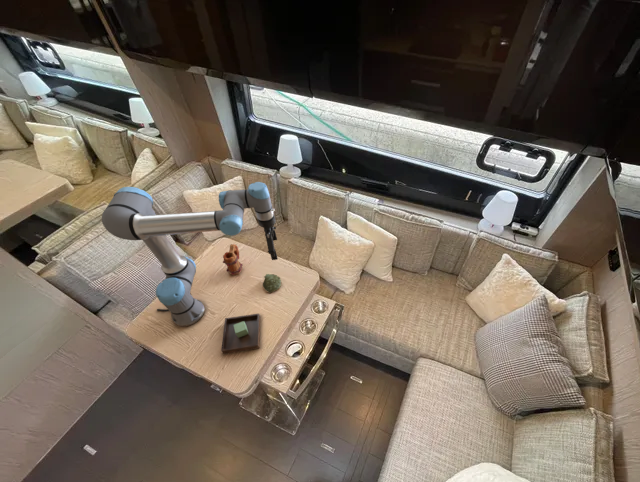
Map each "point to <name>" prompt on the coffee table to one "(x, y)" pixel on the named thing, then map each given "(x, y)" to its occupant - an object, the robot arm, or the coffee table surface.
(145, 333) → the coffee table surface
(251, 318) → the tray
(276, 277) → the green bumpy lump
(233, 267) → the brown animal figurine
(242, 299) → the coffee table surface
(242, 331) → the block
